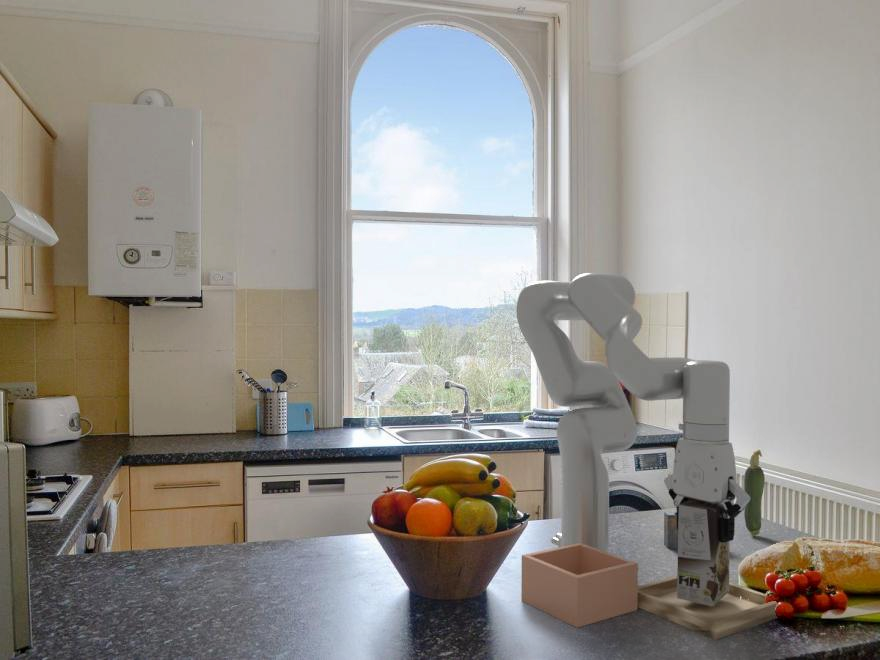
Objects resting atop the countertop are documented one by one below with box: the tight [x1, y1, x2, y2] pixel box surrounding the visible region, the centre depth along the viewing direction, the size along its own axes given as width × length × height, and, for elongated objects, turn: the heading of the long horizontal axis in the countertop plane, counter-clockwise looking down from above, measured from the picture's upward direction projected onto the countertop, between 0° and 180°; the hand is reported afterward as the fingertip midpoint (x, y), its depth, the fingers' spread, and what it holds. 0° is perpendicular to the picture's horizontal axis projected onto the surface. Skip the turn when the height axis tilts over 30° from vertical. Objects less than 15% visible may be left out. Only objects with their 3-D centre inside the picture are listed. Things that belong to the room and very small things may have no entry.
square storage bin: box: [520, 543, 639, 628], centre depth 129 cm, size 14×14×8 cm
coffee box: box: [676, 499, 731, 606], centre depth 128 cm, size 9×6×16 cm
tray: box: [637, 575, 779, 641], centre depth 128 cm, size 18×18×2 cm
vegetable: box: [743, 449, 766, 537], centre depth 173 cm, size 4×4×20 cm
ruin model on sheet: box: [663, 511, 678, 549], centre depth 164 cm, size 25×16×10 cm, turn 89°
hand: (704, 534), depth 128 cm, fingers closed on coffee box, 8 cm apart
